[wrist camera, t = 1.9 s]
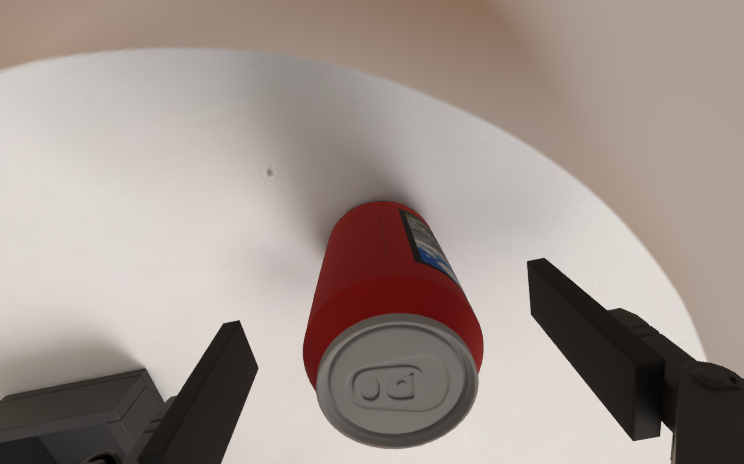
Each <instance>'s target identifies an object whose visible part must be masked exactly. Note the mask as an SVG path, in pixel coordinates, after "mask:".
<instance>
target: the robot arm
mask: <svg viewBox="0 0 744 464" xmlns="http://www.w3.org/2000/svg"><path fill="white" fill-rule="evenodd" d="M527 269H528V282H529V295H530V308H531V315H532V316H533V318H534V319H535V320H536V321H537V322H538V324H539V325H540V326H541V327H542V329H543V330H544V331H545V332H546V334H547V335H548V336H549V337H550V339H551V340H552V341H553V342H554V344H555V345H556V346H557V347H558V349H559V350H560V351H561V352H562V354H563V355H564V356H565V357H566V359H567V360H568V361H569V362H570V364H571V365H572V366H573V367H574V368H575V370H576V371H577V372H578V373H579V375H580V376H581V377H582V378H583V380H584V381H585V382H586V383H587V385H588V386H589V387H590V388H591V390H592V391H593V392H594V393H595V395H596V396H597V397H598V398H599V400H600V401H601V402H602V403H603V405H604V406H605V407H606V408H607V409H608V411H609V412H610V413H611V414H612V416H613V417H614V418H615V419H616V421H617V422H618V423H619V424H620V426H621V427H622V428H623V429H624V431H625V432H626V433H627V434H628V436H629V437H630V438H631V439H632V441H637V440H643V439H648V438H654V437H660V430H661V421H662V422H663V423H664V424H665V425H666V426H667V427H668V428H669V429H670V430H671V431H672V432H673V438H672V449H671V464H744V379H743V378H741V377H740V376H738V375H737V374H736V373H735V372H733V371H731V370H729V369H727V368H725V367H723V366H719V365H716V364H712V363H708V362H700V361H696V360H695V359H694V358H692V357H691V356H690V355H688V354H687V353H686V352H685V351H683V350H682V349H681V348H679V347H678V346H677V345H675V344H674V343H673V342H672V341H670V340H669V339H668V338H666V337H665V336H664V335H662V334H659V332H658V331H657V330H656V329H655V328H653V327H652V326H649V324H648V323H647V322H645V321H644V320H643V319H641V318H640V317H639V316H638V315H636V314H633V313H631V312H629V311H626V310H624V309H622V308H618V309H613V310H606V309H605V308H604V307H602V306H601V305H600V304H599V303H598V302H597V301H595V300H594V299H593V298H592V297H591V296H589V295H588V294H587V293H586V292H585V291H583V290H582V289H581V288H580V287H579V286H577V285H576V284H575V283H574V282H573V281H572V280H570V279H569V278H568V277H567V276H566V275H564V274H563V273H562V272H561V271H560V270H558V269H557V268H556V267H555V266H554V265H552V264H551V263H550V262H549V261H548V260H546V259H545V258H541V259H536V260H531V261H527ZM257 371H258V365H257V363H256V360H255V358H254V355H253V353H252V350H251V348H250V345H249V343H248V340H247V338H246V335H245V333H244V330H243V328H242V325H241V323H240V320H238V321H233V322H228V323H223V325H222V326H221V328H220V329H219V331H218V333H217V334H216V336H215V337H214V339H213V340H212V342H211V344H210V345H209V347H208V348H207V350H206V351H205V353H204V355H203V356H202V358H201V359H200V361H199V362H198V364H197V365H196V367H195V369H194V370H193V372H192V373H191V375H190V376H189V378H188V380H187V381H186V383H185V384H184V386H183V387H182V389H181V391H180V392H179V394H178V395H177V396H173V397H170V398H169V399H168V400H167V401H166V402H165V403H164V404H163V405H162V406H161V407H160V408H159V409H158V410H157V412H156V413H155V414H154V416H153V417H152V419H151V420H150V424H148V425H147V426H146V428H145V429H144V431H143V434H141V435H140V437H139V438H138V440H137V441H136V443H135V444H134V446H133V447H132V449H131V450H130V452H129V453H128V455H127V456H126V458H125V459H124V461H123V462H122V461H121V459H120V458H119V456H118V454H117V453H116V452H115V450H110V449H107V450H103V451H100V452H97V453H96V454H94V455H92V456H90V457H88V458H87V459H85V460H84V461H83V462H81V463H80V464H221V462H222V459H223V457H224V454H225V452H226V449H227V447H228V444H229V442H230V439H231V437H232V434H233V432H234V429H235V427H236V424H237V422H238V419H239V416H240V414H241V411H242V409H243V406H244V404H245V401H246V399H247V396H248V394H249V391H250V389H251V386H252V384H253V381H254V379H255V376H256V374H257Z"/></svg>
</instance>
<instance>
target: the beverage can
mask: <svg viewBox="0 0 744 464" xmlns="http://www.w3.org/2000/svg"><path fill="white" fill-rule="evenodd" d="M482 359H483V335H482V331H481V327H480V324H479V322H478V320H477V318H476V316H475V314H474V312H473V310H472V308H471V306H470V304H469V302H468V300H467V298H466V295H465V293H464V291H463V289H462V287H461V285H460V283H459V281H458V280H457V278H456V276H455V274H454V272H453V270H452V268H451V266H450V264H449V262H448V260H447V258H446V257H445V255H444V253H443V251H442V249H441V247H440V245H439V244H438V242H437V240H436V238H435V236H434V235H433V233H432V231H431V229H430V228H429V226H428V224H427V223H426V221H425V220H424V219H423V218H422V217H421V216H420V215H419V214H418V213H416V212H415V211H414V210H412V209H410V208H409V207H407V206H404V205H402V204H399V203H395V202H388V201H377V202H370V203H366V204H363V205H360V206H358V207H356V208H354V209H352V210H351V211H349V212H348V213H347V214H345V215H344V216H343V217H342V218H341V219H340V220H339V222H338V223H337V224H336V226H335V227H334V229H333V231H332V233H331V235H330V238H329V242H328V245H327V249H326V252H325V256H324V259H323V263H322V267H321V271H320V275H319V279H318V283H317V287H316V291H315V295H314V299H313V303H312V307H311V312H310V316H309V320H308V325H307V329H306V333H305V338H304V343H303V361H304V366H305V370H306V373H307V376H308V378H309V381H310V383H311V384H312V386H313V388H314V390H315V391H316V394H317V399H318V403H319V406H320V408H321V410H322V412H323V414H324V416H325V417H326V419H327V420H328V421H329V422H330V423H331V425H332V426H333V427H334V428H335V429H337V430H338V431H339V432H340V433H342V434H343V435H345V436H346V437H348V438H350V439H352V440H354V441H356V442H359V443H361V444H364V445H368V446H371V447H377V448H384V449H403V448H411V447H416V446H420V445H424V444H426V443H429V442H432V441H434V440H436V439H438V438H440V437H442V436H444V435H446V434H447V433H449V432H450V431H451V430H453V429H454V428H455V427H456V426H457V425H459V424H460V423H461V422H462V421H463V419H464V418H465V417H466V416H467V414H468V413H469V411H470V410H471V408H472V406H473V404H474V402H475V399H476V396H477V391H478V374H479V371H480V367H481V364H482Z"/></svg>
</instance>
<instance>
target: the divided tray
mask: <svg viewBox="0 0 744 464" xmlns="http://www.w3.org/2000/svg"><path fill="white" fill-rule="evenodd" d="M163 404H164V402H163V400H162V398H161V396H160V394H159V393H158V391H157V389H156V387H155V385H154V383H153V382H152V380H151V378H150V376H149V374H148V372H147V371H146V369H143V370H138V371H132V372H127V373H122V374H117V375H112V376H107V377H102V378H97V379H92V380H87V381H82V382H77V383H71V384H66V385H61V386H56V387H51V388H46V389H41V390H36V391H31V392H26V393H21V394H16V395H10V396H6V397H4V398H3V399H2V400H1V401H0V464H80V463H81V462H83V461H84V460H85V459H87V458H88V457H90V456H92V455H94V454H96V453H97V452H100V451H103V450H107V449H110V450H115V452H116V453H117V454H118V456H119V458H120V459H121V461H122V462H123V461H124V459H125V458H126V456H127V455H128V453H129V452H130V450H131V449H132V447H133V446H134V444H135V443H136V441H137V440H138V438H139V437H140V435H141V434H143V431H144V429H145V428H146V426H147V425H148V424H150V420H151V419H152V417H153V416H154V414H155V413H156V412H157V410H158V409H159V408H160V407H161V406H162V405H163Z"/></svg>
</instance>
